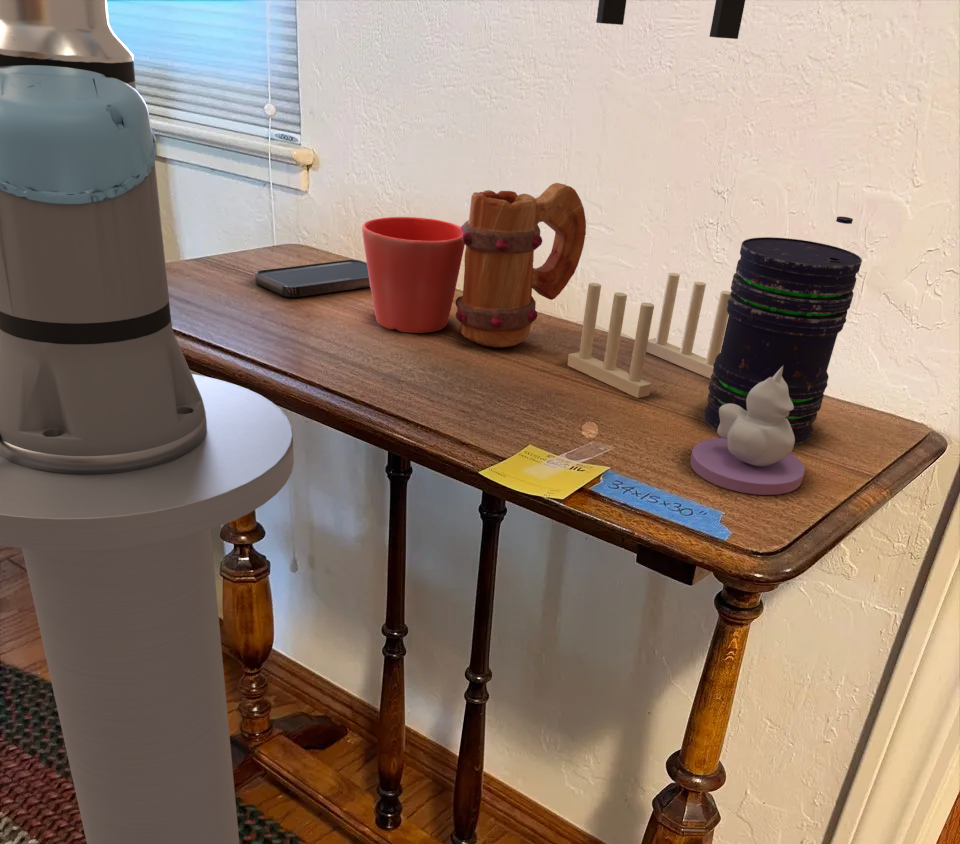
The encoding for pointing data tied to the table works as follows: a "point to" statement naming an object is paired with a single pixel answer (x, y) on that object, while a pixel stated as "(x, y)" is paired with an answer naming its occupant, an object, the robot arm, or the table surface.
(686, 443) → the table surface
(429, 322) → the flower pot
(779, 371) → the grey lumpy piece
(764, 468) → the purple coaster
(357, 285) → the phone
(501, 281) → the mug
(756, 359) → the dark blue barrel
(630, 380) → the rack
